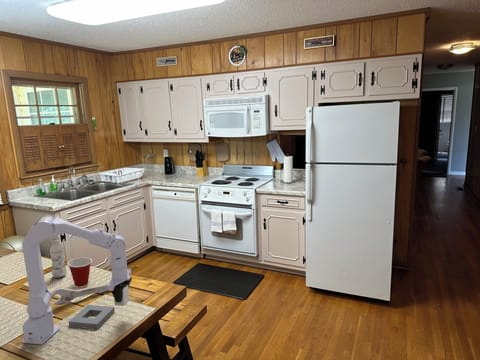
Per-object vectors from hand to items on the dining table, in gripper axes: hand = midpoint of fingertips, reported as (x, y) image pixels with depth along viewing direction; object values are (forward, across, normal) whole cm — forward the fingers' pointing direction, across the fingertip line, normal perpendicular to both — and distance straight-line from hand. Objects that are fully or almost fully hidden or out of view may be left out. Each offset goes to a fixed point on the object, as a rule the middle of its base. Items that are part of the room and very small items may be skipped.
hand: (121, 298), depth 129 cm
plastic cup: (+9, +24, +35) cm, 43 cm away
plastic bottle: (+9, +30, +52) cm, 61 cm away
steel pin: (+2, 0, 0) cm, 2 cm away
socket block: (+8, -2, +12) cm, 15 cm away
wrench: (+9, +13, +24) cm, 29 cm away
